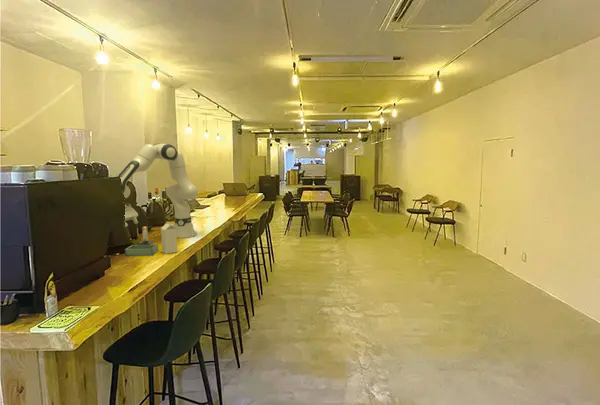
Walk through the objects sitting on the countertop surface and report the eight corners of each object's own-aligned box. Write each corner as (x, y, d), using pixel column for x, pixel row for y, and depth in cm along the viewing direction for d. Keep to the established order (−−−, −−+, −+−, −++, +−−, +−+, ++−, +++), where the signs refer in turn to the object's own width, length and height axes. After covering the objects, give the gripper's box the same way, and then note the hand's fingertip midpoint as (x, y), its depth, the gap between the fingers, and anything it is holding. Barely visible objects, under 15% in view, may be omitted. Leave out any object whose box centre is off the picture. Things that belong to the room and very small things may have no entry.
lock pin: (144, 249, 238) (143, 226, 237) (149, 248, 239) (147, 226, 237) (142, 250, 235) (141, 227, 234) (147, 250, 236) (146, 227, 234)
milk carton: (166, 254, 226) (164, 223, 224) (162, 251, 232) (160, 222, 229) (177, 252, 231) (176, 222, 228) (173, 250, 236) (172, 220, 234)
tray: (132, 251, 233) (131, 245, 232) (158, 250, 234) (157, 244, 233) (125, 255, 222) (124, 249, 221) (152, 255, 223) (152, 249, 222)
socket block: (142, 248, 240) (141, 240, 240) (153, 248, 241) (152, 240, 240) (138, 251, 233) (137, 243, 233) (149, 250, 234) (149, 243, 233)
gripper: (109, 207, 227) (123, 224, 226) (131, 203, 247) (144, 218, 246) (103, 214, 229) (117, 230, 228) (126, 210, 249) (139, 225, 248)
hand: (132, 224), depth 237 cm, fingers open, 8 cm apart
